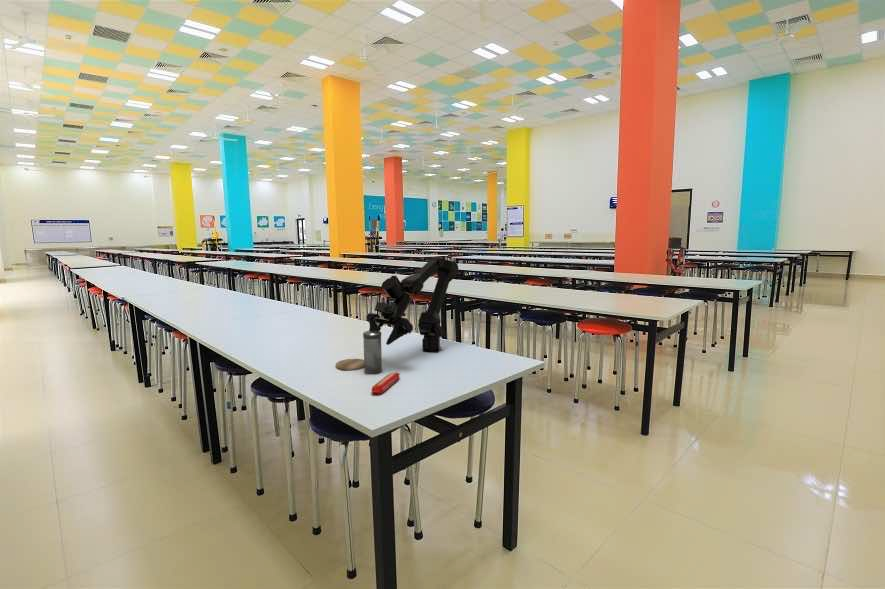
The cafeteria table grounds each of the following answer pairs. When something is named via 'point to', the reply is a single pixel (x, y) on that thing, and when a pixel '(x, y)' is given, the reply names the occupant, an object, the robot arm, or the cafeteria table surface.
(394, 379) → the red rounded bar
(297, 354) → the cafeteria table surface
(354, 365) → the coaster
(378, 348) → the tumbler
